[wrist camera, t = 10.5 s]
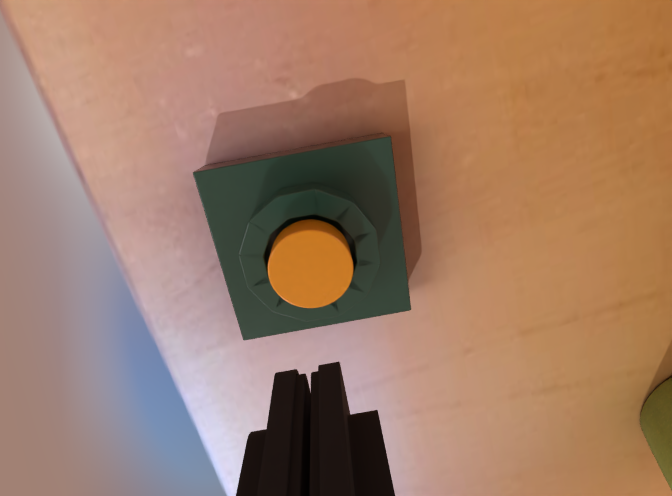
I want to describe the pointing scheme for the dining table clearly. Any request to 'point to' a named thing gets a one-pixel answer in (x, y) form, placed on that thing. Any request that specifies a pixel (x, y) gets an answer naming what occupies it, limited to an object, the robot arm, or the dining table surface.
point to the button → (310, 264)
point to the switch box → (302, 204)
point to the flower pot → (659, 427)
